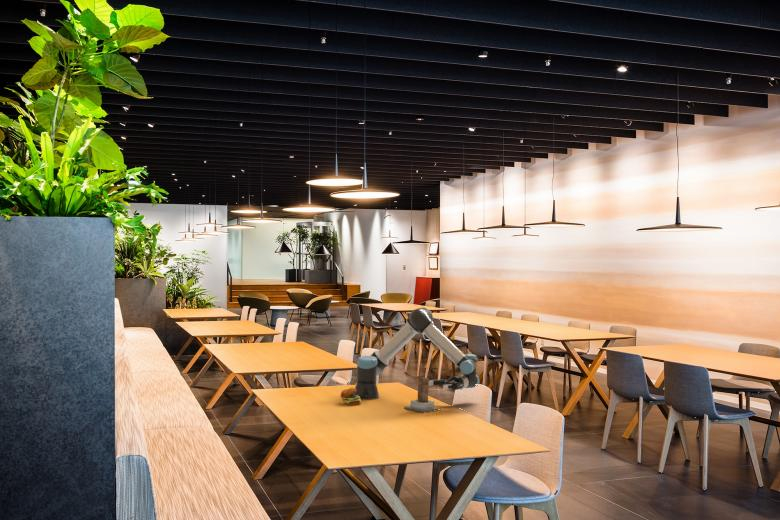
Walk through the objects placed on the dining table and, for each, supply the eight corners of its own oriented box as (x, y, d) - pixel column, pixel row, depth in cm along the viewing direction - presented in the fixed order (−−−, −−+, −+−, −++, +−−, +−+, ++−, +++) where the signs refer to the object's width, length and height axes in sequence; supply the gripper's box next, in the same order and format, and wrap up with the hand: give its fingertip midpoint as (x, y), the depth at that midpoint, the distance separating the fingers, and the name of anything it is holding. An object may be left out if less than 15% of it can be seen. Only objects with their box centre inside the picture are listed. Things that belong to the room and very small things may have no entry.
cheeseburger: (361, 405, 363) (357, 387, 363) (342, 409, 363) (338, 391, 363) (362, 402, 373) (358, 384, 373) (343, 405, 373) (340, 388, 374)
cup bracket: (404, 408, 362) (404, 400, 362) (421, 405, 372) (421, 397, 372) (423, 413, 352) (423, 404, 352) (440, 410, 362) (440, 401, 362)
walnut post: (417, 407, 362) (418, 377, 362) (422, 406, 365) (423, 377, 365) (422, 408, 359) (423, 378, 359) (427, 407, 362) (428, 378, 362)
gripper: (475, 392, 374) (451, 395, 359) (442, 386, 392) (417, 389, 377) (476, 379, 374) (451, 382, 360) (442, 373, 392) (418, 375, 377)
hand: (434, 385), depth 368 cm, fingers open, 13 cm apart
